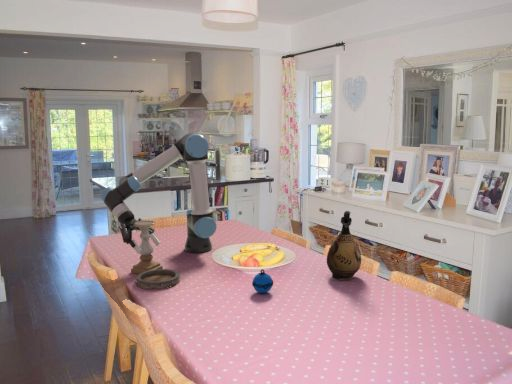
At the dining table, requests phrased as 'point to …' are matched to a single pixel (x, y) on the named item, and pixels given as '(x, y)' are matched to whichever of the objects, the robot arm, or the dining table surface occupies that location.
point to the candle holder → (145, 249)
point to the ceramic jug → (344, 253)
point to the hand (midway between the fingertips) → (149, 248)
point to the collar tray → (157, 279)
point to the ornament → (262, 282)
